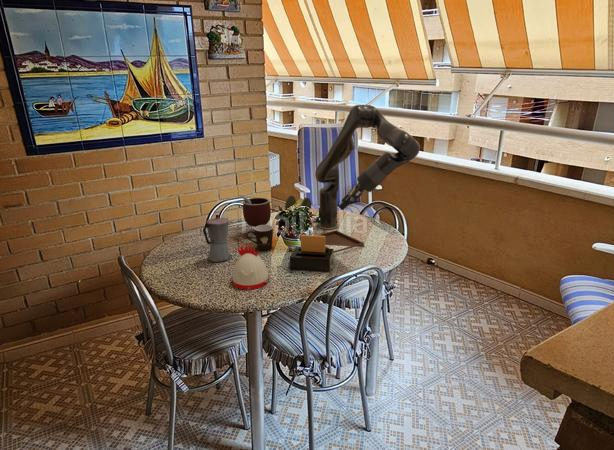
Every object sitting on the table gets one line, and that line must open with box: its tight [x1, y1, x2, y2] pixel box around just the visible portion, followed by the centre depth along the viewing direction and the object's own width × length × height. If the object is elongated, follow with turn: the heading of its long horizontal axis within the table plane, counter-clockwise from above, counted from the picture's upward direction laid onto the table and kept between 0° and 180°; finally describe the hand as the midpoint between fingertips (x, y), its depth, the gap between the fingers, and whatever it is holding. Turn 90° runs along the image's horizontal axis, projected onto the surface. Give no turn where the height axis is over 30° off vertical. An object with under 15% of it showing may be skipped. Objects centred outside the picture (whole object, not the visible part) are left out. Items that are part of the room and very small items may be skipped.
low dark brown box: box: [289, 246, 335, 273], centre depth 166 cm, size 17×11×7 cm, turn 78°
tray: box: [318, 230, 365, 254], centre depth 191 cm, size 21×17×2 cm
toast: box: [300, 234, 326, 252], centre depth 167 cm, size 10×1×12 cm, turn 78°
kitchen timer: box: [231, 244, 270, 290], centre depth 156 cm, size 14×14×15 cm
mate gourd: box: [239, 194, 272, 239], centre depth 205 cm, size 16×14×20 cm
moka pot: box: [202, 214, 230, 263], centre depth 175 cm, size 10×15×20 cm, turn 155°
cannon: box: [284, 195, 312, 210], centre depth 226 cm, size 25×12×11 cm, turn 152°
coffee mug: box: [245, 224, 274, 252], centre depth 188 cm, size 12×9×10 cm
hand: (341, 205), depth 158 cm, fingers open, 8 cm apart
